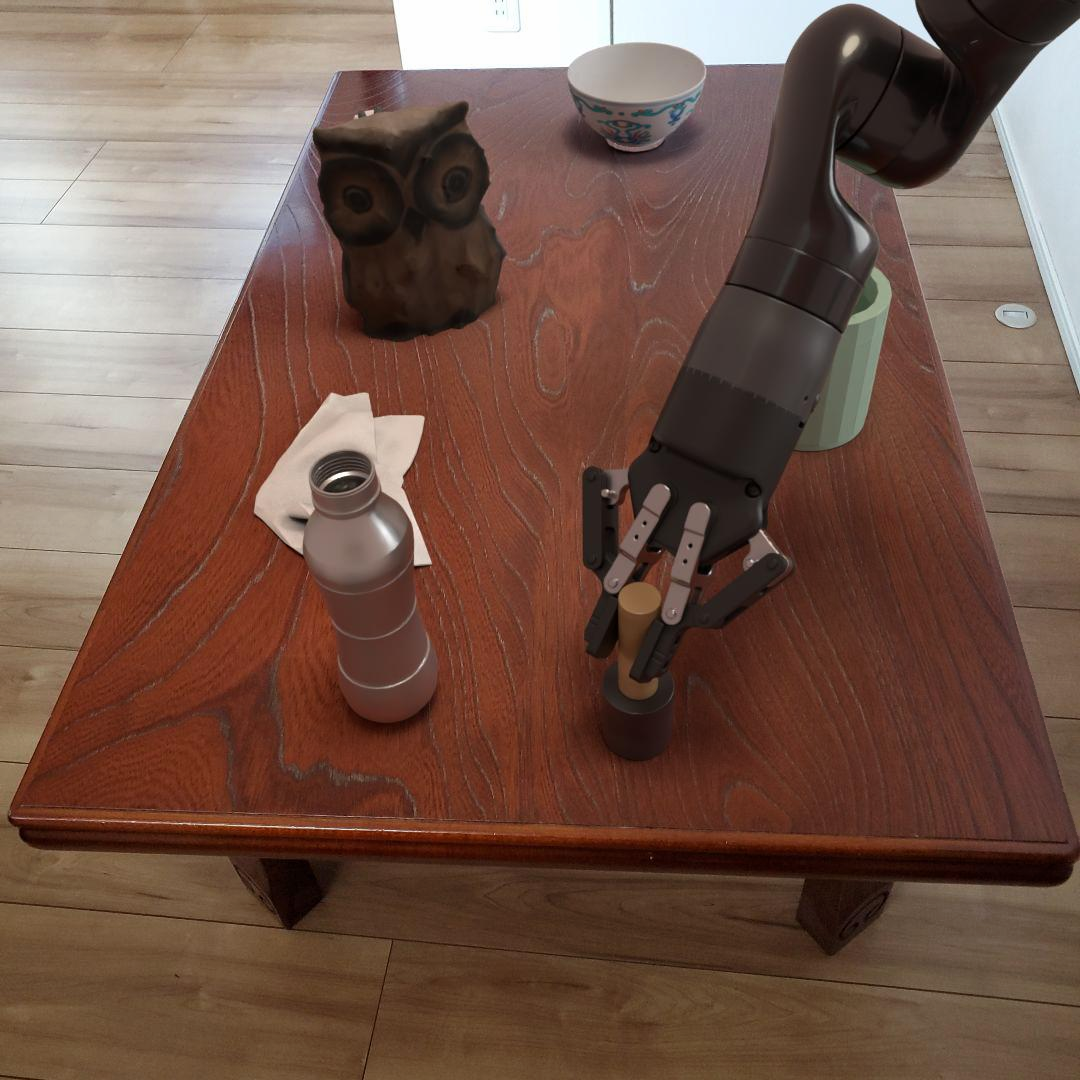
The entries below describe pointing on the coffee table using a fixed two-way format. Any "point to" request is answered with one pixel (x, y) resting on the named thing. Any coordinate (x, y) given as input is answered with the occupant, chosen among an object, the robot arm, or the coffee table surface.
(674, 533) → the robot arm
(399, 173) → the owl
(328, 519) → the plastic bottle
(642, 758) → the peg in round base
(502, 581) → the coffee table surface
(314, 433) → the cloth
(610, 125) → the chinaware
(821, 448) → the cup
